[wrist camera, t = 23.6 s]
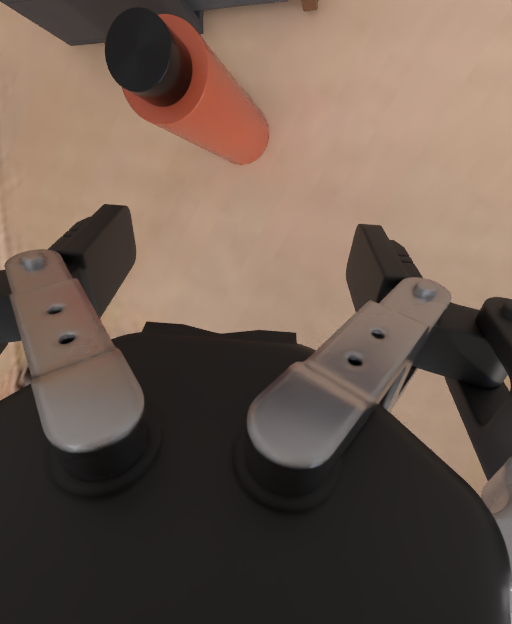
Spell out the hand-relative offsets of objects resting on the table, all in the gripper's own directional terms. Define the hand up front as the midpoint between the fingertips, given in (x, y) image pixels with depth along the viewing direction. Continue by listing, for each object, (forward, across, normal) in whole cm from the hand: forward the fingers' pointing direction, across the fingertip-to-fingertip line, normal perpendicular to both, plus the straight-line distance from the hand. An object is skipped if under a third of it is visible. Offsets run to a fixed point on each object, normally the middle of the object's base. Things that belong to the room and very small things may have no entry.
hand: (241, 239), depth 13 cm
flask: (+27, +2, +2) cm, 27 cm away
